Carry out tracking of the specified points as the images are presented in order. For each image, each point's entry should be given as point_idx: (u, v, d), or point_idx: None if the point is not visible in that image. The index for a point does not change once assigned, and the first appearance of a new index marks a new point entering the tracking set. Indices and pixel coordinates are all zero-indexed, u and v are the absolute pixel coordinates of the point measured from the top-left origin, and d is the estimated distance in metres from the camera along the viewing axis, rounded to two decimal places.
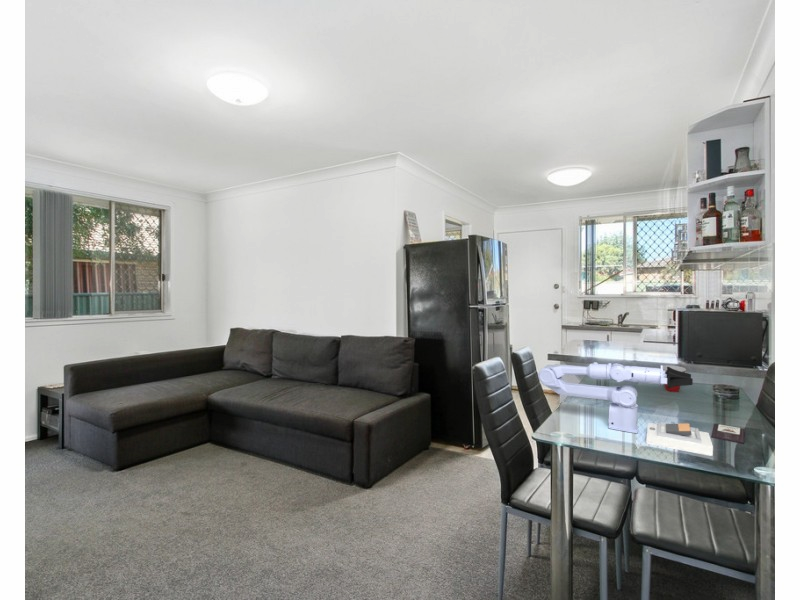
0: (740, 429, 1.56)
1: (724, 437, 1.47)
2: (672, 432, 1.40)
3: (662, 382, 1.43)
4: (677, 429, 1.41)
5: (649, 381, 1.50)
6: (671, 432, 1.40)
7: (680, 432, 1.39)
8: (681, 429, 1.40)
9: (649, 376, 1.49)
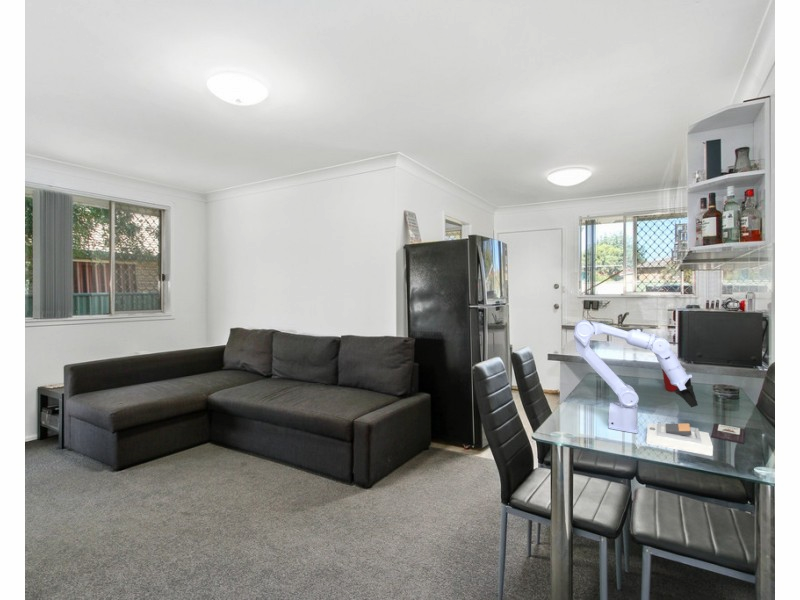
0: (740, 429, 1.56)
1: (724, 437, 1.47)
2: (672, 432, 1.40)
3: (679, 386, 1.43)
4: (677, 429, 1.41)
5: (669, 373, 1.48)
6: (671, 432, 1.40)
7: (680, 432, 1.39)
8: (681, 429, 1.40)
9: (674, 372, 1.47)
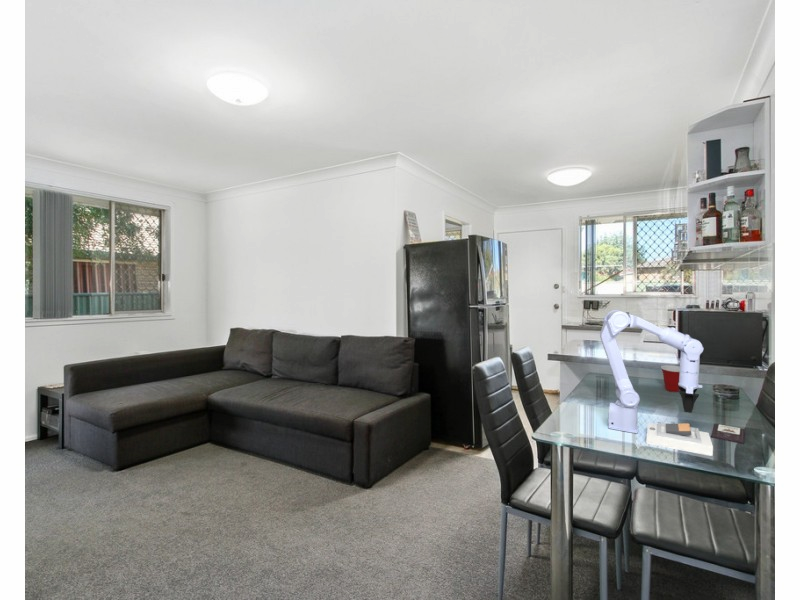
0: (740, 429, 1.56)
1: (724, 437, 1.47)
2: (672, 432, 1.40)
3: (687, 389, 1.44)
4: (677, 429, 1.41)
5: (683, 375, 1.48)
6: (671, 432, 1.40)
7: (680, 432, 1.39)
8: (681, 429, 1.40)
9: (690, 376, 1.47)
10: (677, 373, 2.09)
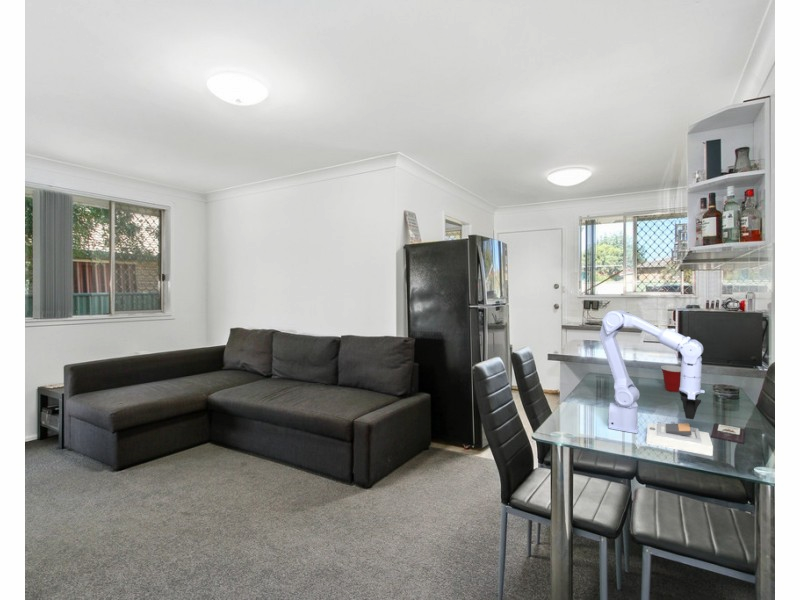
0: (740, 429, 1.56)
1: (724, 437, 1.47)
2: (672, 432, 1.40)
3: (689, 395, 1.36)
4: (677, 429, 1.41)
5: (684, 379, 1.41)
6: (671, 432, 1.40)
7: (680, 432, 1.39)
8: (681, 429, 1.40)
9: (691, 380, 1.39)
10: (677, 373, 2.09)
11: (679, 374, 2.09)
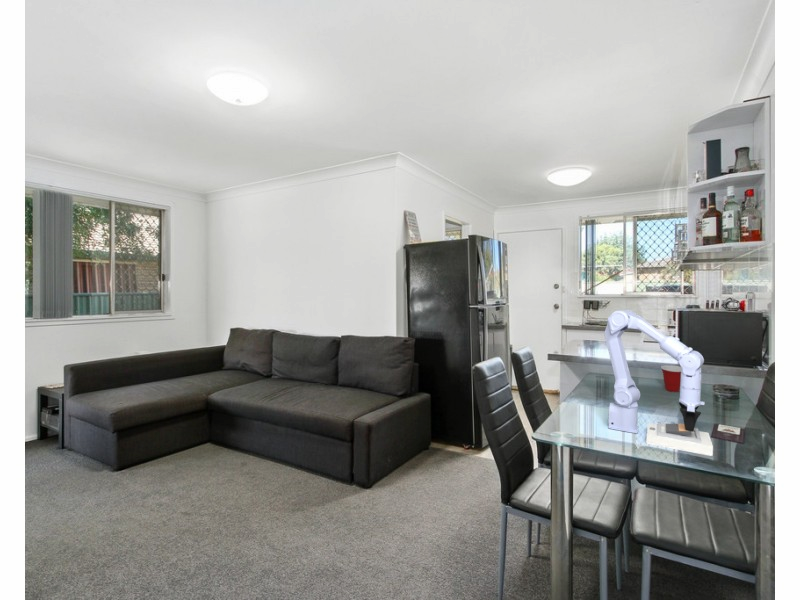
0: (740, 429, 1.56)
1: (724, 437, 1.47)
2: (672, 432, 1.40)
3: (688, 407, 1.35)
4: (677, 429, 1.41)
5: (684, 391, 1.40)
6: (671, 432, 1.40)
7: (680, 432, 1.39)
8: (681, 429, 1.40)
9: (691, 392, 1.38)
10: (677, 373, 2.09)
11: (679, 374, 2.09)
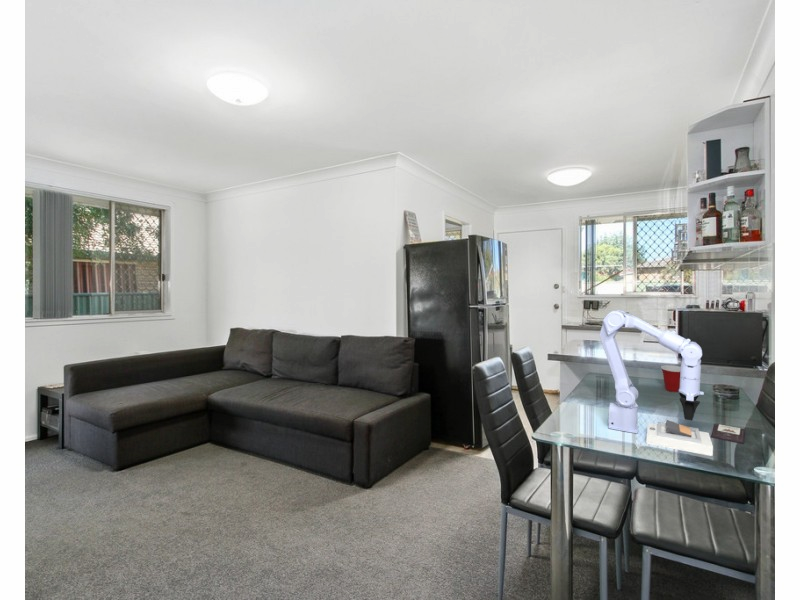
0: (740, 429, 1.56)
1: (724, 437, 1.47)
2: (672, 430, 1.40)
3: (688, 396, 1.38)
4: (678, 429, 1.41)
5: (684, 381, 1.43)
6: (671, 430, 1.40)
7: (680, 433, 1.39)
8: (682, 430, 1.40)
9: (690, 382, 1.41)
10: (677, 373, 2.09)
11: (679, 374, 2.09)
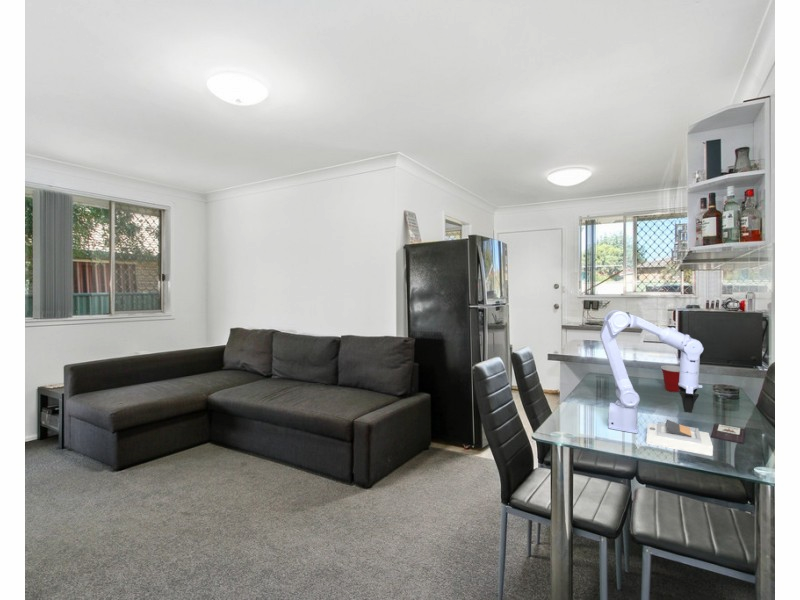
0: (740, 429, 1.56)
1: (724, 437, 1.47)
2: (673, 430, 1.40)
3: (687, 389, 1.44)
4: (678, 429, 1.41)
5: (683, 375, 1.48)
6: (672, 429, 1.40)
7: (680, 433, 1.39)
8: (682, 431, 1.40)
9: (690, 376, 1.47)
10: (677, 373, 2.09)
11: None
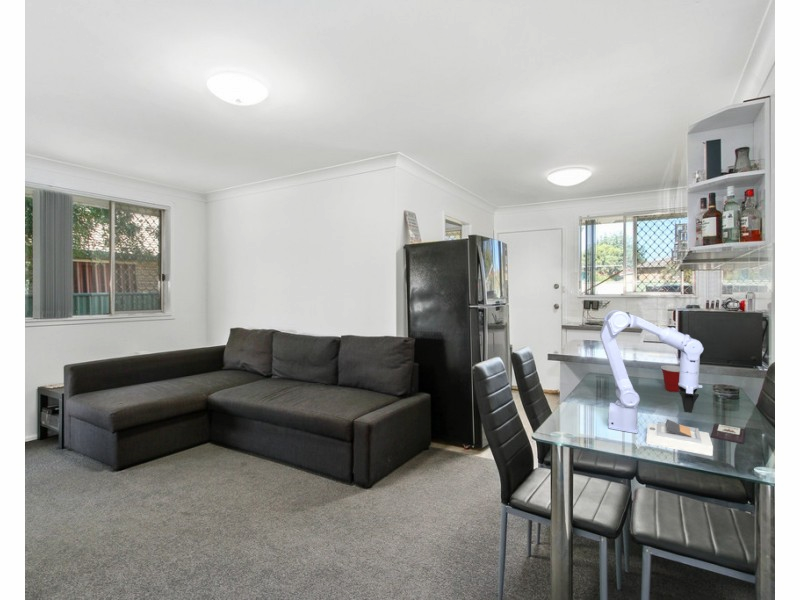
0: (740, 429, 1.56)
1: (724, 437, 1.47)
2: (673, 430, 1.40)
3: (687, 389, 1.44)
4: (678, 429, 1.41)
5: (683, 375, 1.48)
6: (672, 429, 1.40)
7: (680, 433, 1.39)
8: (682, 431, 1.40)
9: (690, 376, 1.47)
10: (677, 373, 2.09)
11: None
